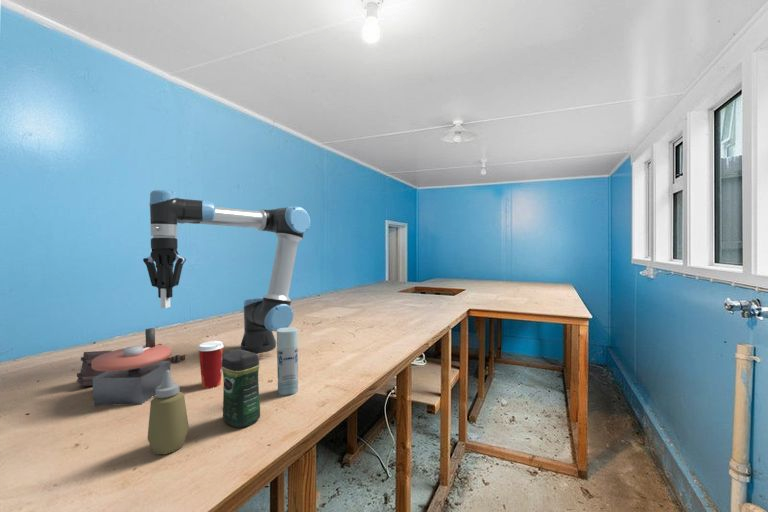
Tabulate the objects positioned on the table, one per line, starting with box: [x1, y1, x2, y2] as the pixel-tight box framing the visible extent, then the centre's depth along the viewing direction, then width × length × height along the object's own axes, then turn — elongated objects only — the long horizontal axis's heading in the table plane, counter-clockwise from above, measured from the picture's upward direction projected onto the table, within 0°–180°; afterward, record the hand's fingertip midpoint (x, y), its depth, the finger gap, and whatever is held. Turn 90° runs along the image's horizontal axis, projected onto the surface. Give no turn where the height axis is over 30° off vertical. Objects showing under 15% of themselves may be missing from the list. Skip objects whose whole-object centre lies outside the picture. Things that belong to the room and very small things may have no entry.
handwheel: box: [91, 327, 172, 372], centre depth 105 cm, size 20×20×10 cm
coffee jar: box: [222, 348, 261, 428], centre depth 90 cm, size 10×8×19 cm
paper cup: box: [197, 340, 225, 389], centre depth 112 cm, size 8×8×14 cm
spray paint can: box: [276, 326, 299, 397], centre depth 107 cm, size 6×6×20 cm
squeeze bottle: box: [147, 369, 190, 455], centre depth 77 cm, size 8×8×18 cm
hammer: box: [76, 350, 186, 387], centre depth 124 cm, size 7×33×10 cm, turn 145°
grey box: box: [92, 361, 171, 406], centre depth 106 cm, size 14×14×8 cm
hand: (165, 307), depth 113 cm, fingers closed
